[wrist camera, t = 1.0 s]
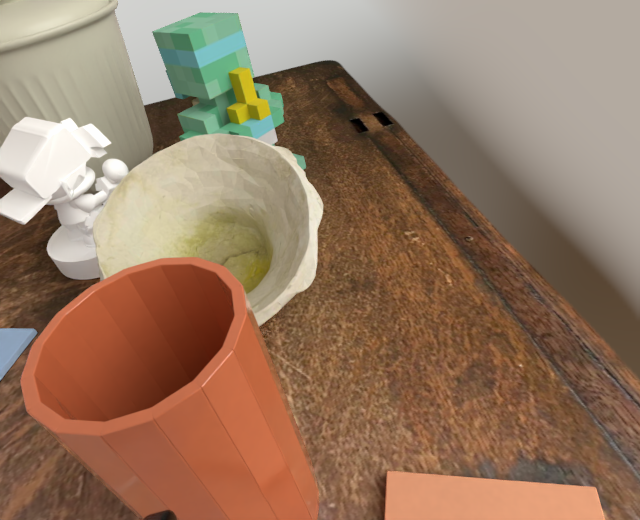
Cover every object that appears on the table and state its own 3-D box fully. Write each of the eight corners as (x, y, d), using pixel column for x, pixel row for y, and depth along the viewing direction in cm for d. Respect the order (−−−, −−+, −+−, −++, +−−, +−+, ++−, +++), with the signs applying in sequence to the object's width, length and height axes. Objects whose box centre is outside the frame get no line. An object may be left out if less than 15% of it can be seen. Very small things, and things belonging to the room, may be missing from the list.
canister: (18, 244, 45) (-162, 6, 32) (24, 172, 58) (-101, -17, 45) (194, 178, 49) (102, -57, 36) (163, 125, 63) (86, -61, 49)
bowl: (115, 398, 29) (20, 283, 22) (155, 257, 40) (100, 151, 33) (352, 355, 28) (324, 223, 22) (328, 223, 39) (305, 109, 33)
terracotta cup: (305, 599, 19) (199, 443, 11) (158, 577, 21) (-32, 426, 12) (329, 443, 24) (268, 254, 16) (209, 435, 26) (97, 259, 17)
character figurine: (171, 231, 42) (111, 104, 34) (83, 300, 37) (-12, 167, 29) (115, 211, 47) (51, 95, 39) (30, 270, 41) (-65, 149, 34)
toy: (242, 223, 41) (180, 47, 32) (178, 196, 47) (110, 40, 37) (315, 170, 46) (281, 4, 37) (249, 151, 52) (205, 3, 42)
